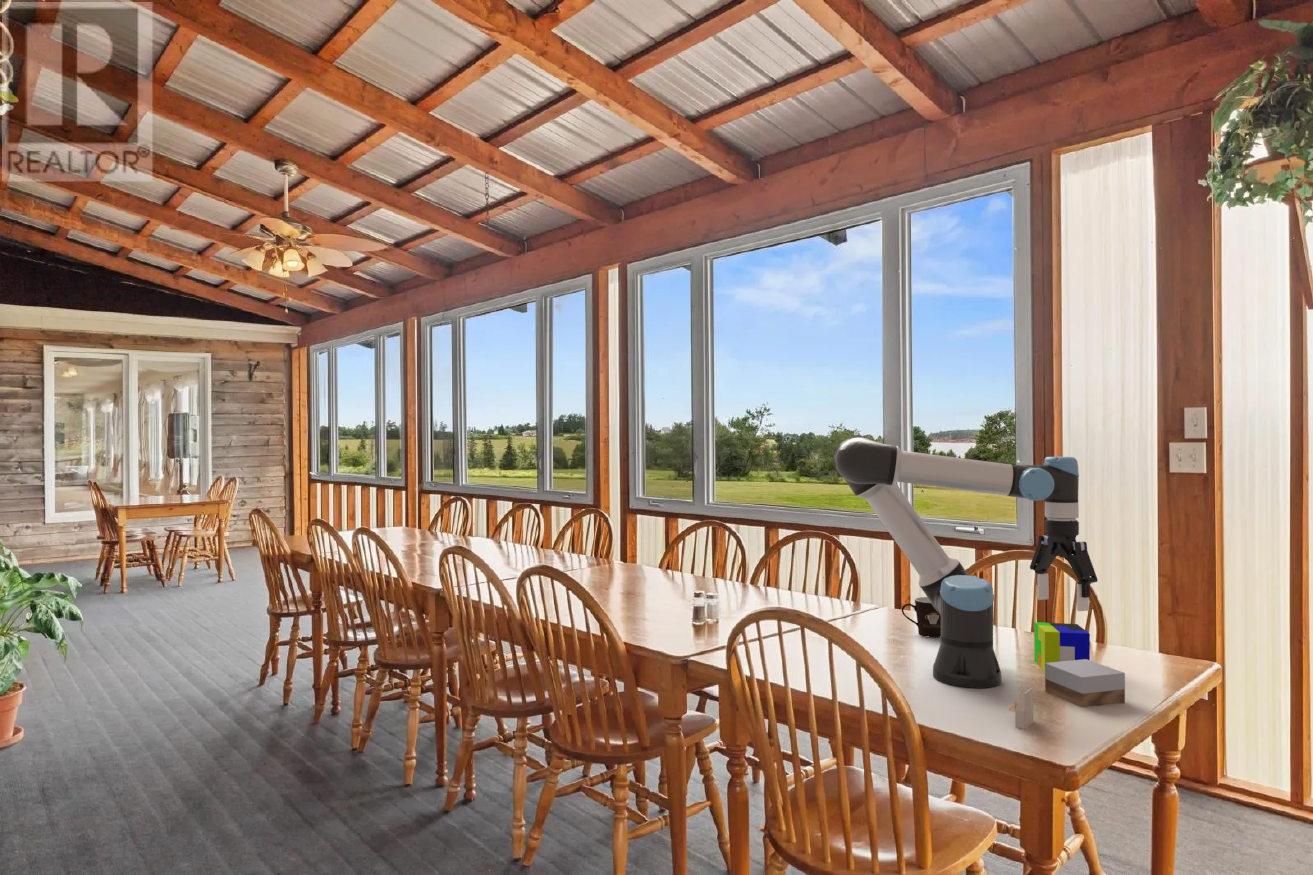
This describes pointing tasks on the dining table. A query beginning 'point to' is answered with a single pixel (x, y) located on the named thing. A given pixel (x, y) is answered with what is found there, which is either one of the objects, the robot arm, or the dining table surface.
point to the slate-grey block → (1085, 676)
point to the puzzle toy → (1060, 643)
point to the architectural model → (1023, 708)
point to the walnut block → (1085, 695)
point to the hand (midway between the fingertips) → (1062, 605)
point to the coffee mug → (926, 617)
